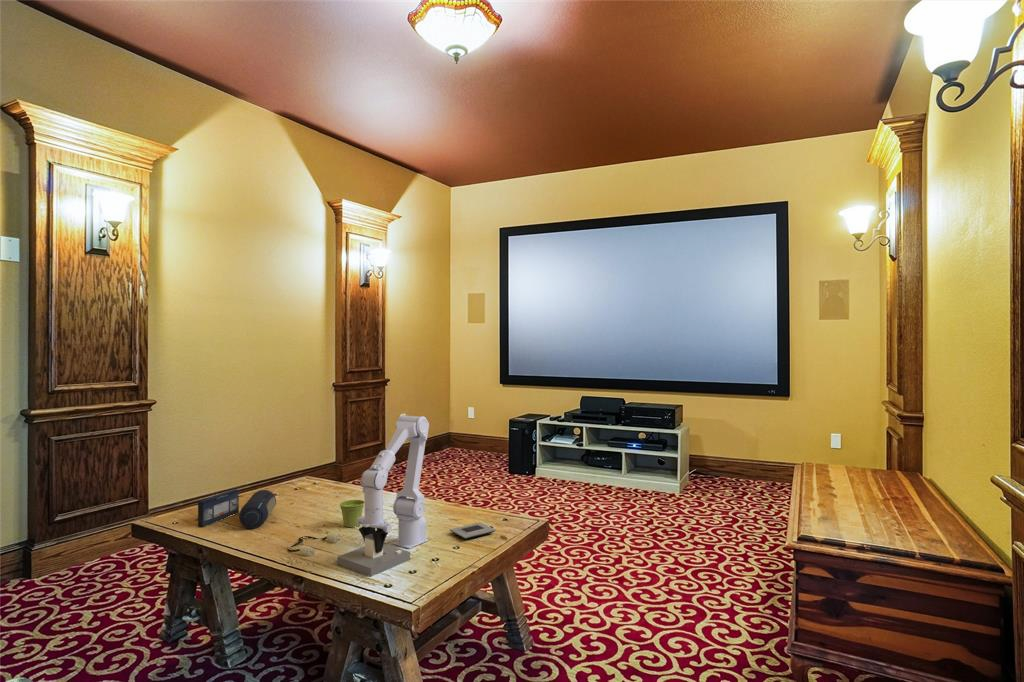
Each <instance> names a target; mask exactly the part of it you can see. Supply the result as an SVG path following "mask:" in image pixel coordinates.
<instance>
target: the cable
mask: <svg viewBox="0 0 1024 682" xmlns="http://www.w3.org/2000/svg"><path fill="white" fill-rule="evenodd" d="M303 537H308V538H307V539H310V538H313V539H312V540H314V539H319V538H318V537H314V536H310V535H307V536H305V535H304V536H301V537H299V538H298V542H296V543H295V544H293V545H292V544H291V546H289V547H288V548H290V547H293V546H295V547H297V546H299V545H300V544H302V543H303V542H304V538H303ZM340 537H341V536H340V535H339V534H337V533H333V532H329V533H328V534H327V536H324V537H322V538H320V539H323V540H322V541H325V540H326V541H327V543H331V542H333V543H332V544H336V543H338V542H341V538H340ZM301 538H303V539H301ZM337 541H338V542H337ZM335 542H336V543H335ZM288 548H287V549H286V550H288V551H289V552H288V551H287V552H288V553H296V552H299V555H300V556H303V555H304V557H310V556H312V555H313V554H315V551H314V547H313V546H308V545H304V544H303V545H302V546H301V547H300V548H297V549H291V548H290V549H288ZM293 548H294V547H293ZM312 553H313V554H312ZM309 555H310V556H309Z"/></svg>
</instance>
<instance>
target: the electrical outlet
mask: <svg viewBox="0 0 1024 682" xmlns="http://www.w3.org/2000/svg"><path fill="white" fill-rule="evenodd" d="M449 531H450V532H452V533H453V534H455V535H457V536H458V537H461V538H463V539H465V540H469V539H471V538H475V537H480V536H483V535H488V534H492V533H495V532H496V531H497V529H495V528H493V527H492V526H489V525H488V524H487V525H486V524H484V523H482V522H480V521H479V522H475V523H472V524H466V525H463V526H462V525H461V526H458V527H454V528H450V529H449Z"/></svg>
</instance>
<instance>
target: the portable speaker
mask: <svg viewBox="0 0 1024 682" xmlns="http://www.w3.org/2000/svg"><path fill="white" fill-rule="evenodd" d="M276 505H277V498H276V495H275V494H274V493H273V492H272V491H270V490H267V489H262V490H258V491H256V492H255V493H253V494H252V496H251V497H250V498H249V499H248V500H247V501H246V502H245V503H244V505H242V507H241V509H240V511H239V515H238V520H239V523H240V524H241V526H243V527H245V528H247V529H257V528H259V527H261V526H262V525H263V524H264V523H265V522H266V521H267V520H268V518H269V517H270V515H271V513H272V512H273V510H274V509H275V507H276Z"/></svg>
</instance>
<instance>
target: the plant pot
mask: <svg viewBox="0 0 1024 682" xmlns="http://www.w3.org/2000/svg"><path fill="white" fill-rule="evenodd" d="M338 504H339V506H340V510H341V514H342V516H341V517H342V520H343V526H346V527H345V528H348V527H353V528H356V527H355V526H357V527H358V526H359V525H360V524H359V525H358V524H357V518H359V517H363V508H364V507H365V500H362V499H348V500H343V501H341V502H340V503H338ZM360 526H361V525H360ZM360 526H359V527H360Z"/></svg>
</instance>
